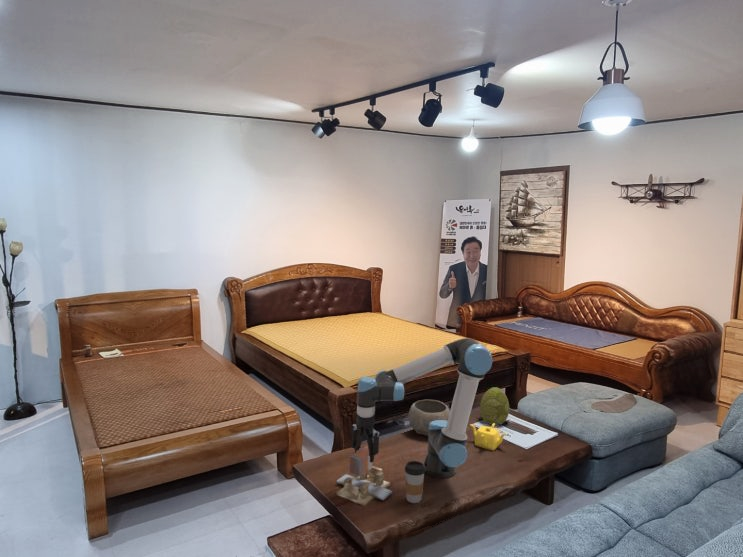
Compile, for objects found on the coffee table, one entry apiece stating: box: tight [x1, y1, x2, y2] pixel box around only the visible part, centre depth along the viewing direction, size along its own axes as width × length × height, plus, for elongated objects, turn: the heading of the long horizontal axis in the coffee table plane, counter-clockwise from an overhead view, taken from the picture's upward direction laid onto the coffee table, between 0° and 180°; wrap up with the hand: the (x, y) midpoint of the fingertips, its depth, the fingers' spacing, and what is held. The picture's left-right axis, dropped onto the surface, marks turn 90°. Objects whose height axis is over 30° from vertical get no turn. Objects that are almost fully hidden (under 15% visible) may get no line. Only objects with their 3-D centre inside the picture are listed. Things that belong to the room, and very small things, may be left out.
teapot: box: [469, 423, 507, 451], centre depth 267 cm, size 15×14×10 cm
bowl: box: [407, 399, 451, 437], centre depth 281 cm, size 23×23×15 cm
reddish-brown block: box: [348, 444, 380, 477], centre depth 220 cm, size 5×15×7 cm, turn 147°
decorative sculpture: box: [479, 386, 510, 425], centre depth 297 cm, size 16×16×20 cm
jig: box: [336, 465, 393, 506], centre depth 221 cm, size 24×20×6 cm
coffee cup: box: [404, 460, 426, 504], centre depth 215 cm, size 8×8×15 cm
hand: (364, 466), depth 220 cm, fingers closed on reddish-brown block, 5 cm apart
